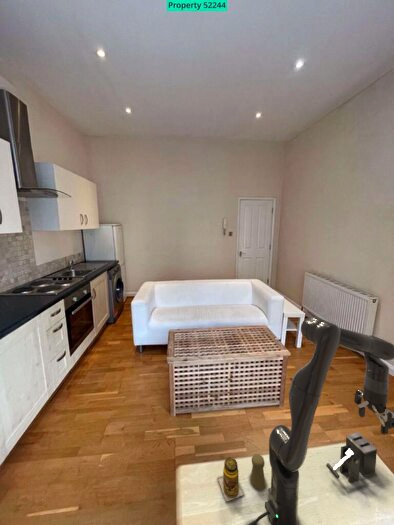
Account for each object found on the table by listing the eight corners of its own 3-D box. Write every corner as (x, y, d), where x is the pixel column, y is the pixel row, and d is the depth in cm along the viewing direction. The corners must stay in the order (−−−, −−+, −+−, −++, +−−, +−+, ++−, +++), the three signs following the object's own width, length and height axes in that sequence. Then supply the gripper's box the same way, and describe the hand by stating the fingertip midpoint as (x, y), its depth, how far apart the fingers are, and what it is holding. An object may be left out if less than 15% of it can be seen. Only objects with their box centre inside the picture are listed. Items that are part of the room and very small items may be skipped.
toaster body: (362, 479, 92) (364, 452, 91) (344, 459, 100) (346, 435, 99) (375, 474, 94) (377, 448, 92) (356, 455, 102) (357, 431, 101)
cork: (265, 491, 88) (266, 466, 87) (250, 487, 89) (250, 463, 88) (264, 475, 94) (264, 452, 92) (249, 472, 95) (250, 449, 94)
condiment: (226, 502, 84) (226, 474, 83) (218, 479, 92) (218, 453, 91) (243, 495, 86) (243, 468, 85) (233, 473, 94) (233, 448, 93)
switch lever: (337, 480, 87) (335, 476, 86) (327, 467, 92) (325, 464, 91) (359, 460, 89) (357, 456, 89) (348, 449, 94) (346, 445, 93)
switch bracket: (348, 492, 87) (350, 463, 86) (331, 472, 95) (332, 445, 93) (367, 485, 89) (369, 457, 88) (349, 466, 97) (350, 439, 96)
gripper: (351, 377, 92) (348, 413, 94) (388, 401, 79) (384, 442, 80) (365, 375, 94) (362, 409, 96) (403, 397, 81) (399, 437, 82)
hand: (372, 424), depth 88 cm, fingers open, 8 cm apart
